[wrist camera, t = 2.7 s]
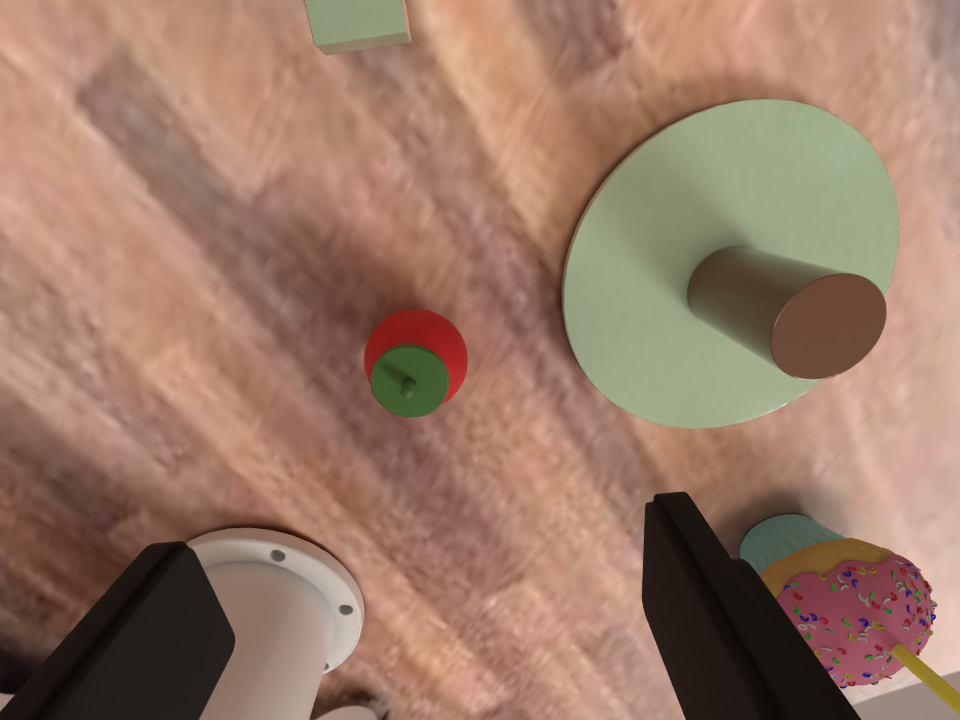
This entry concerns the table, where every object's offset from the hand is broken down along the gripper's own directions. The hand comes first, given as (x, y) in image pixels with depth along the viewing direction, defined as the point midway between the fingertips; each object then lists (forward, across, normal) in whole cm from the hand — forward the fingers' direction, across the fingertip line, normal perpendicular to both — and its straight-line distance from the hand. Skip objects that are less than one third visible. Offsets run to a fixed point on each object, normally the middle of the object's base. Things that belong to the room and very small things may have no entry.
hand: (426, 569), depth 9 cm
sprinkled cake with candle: (+14, -18, +15) cm, 27 cm away
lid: (+13, -12, -2) cm, 18 cm away
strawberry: (+13, +2, 0) cm, 13 cm away
